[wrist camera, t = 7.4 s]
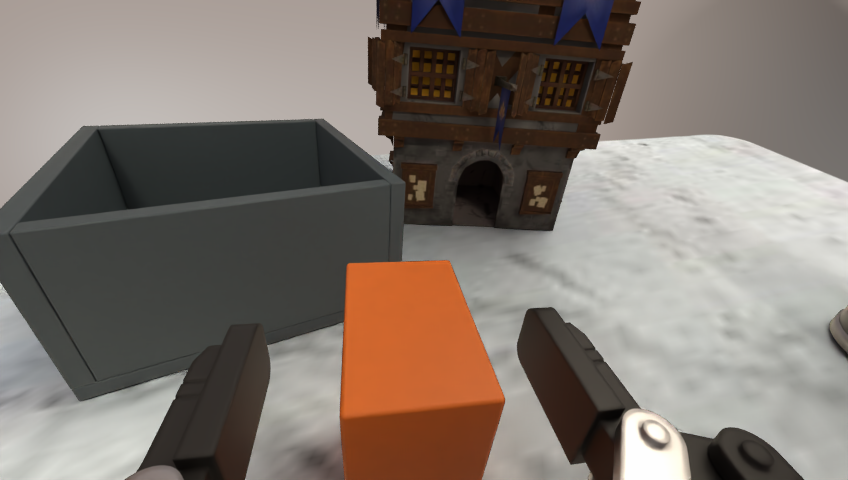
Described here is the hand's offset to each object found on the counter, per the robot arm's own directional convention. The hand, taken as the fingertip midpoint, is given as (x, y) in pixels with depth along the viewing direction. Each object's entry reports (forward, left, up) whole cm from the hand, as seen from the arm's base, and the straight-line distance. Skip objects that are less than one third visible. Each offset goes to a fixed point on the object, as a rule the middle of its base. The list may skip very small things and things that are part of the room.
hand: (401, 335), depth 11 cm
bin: (+3, -15, -6) cm, 16 cm away
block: (0, +1, -6) cm, 6 cm away
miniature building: (-17, -20, -6) cm, 26 cm away
